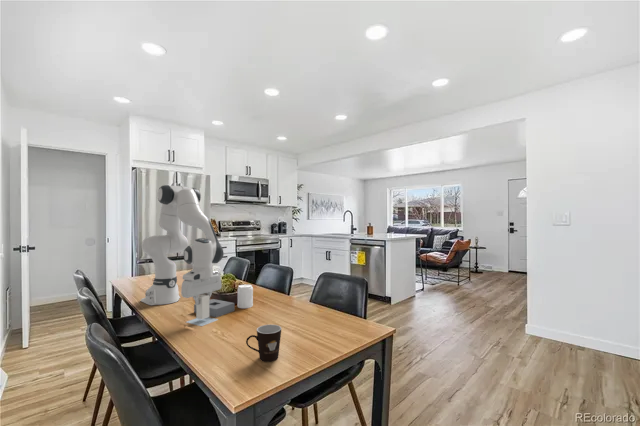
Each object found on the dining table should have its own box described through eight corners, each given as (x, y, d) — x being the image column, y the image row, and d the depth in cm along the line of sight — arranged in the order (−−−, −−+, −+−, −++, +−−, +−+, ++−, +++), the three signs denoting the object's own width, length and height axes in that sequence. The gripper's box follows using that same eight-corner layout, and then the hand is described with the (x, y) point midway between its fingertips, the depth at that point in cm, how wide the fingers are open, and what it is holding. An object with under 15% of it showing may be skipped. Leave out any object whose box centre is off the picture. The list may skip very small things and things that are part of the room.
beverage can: (254, 305, 166) (254, 284, 167) (249, 310, 158) (250, 287, 159) (240, 305, 167) (240, 284, 167) (235, 309, 159) (235, 287, 159)
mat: (185, 324, 137) (185, 322, 137) (203, 317, 146) (203, 315, 146) (201, 328, 132) (201, 326, 132) (219, 321, 141) (219, 319, 141)
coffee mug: (282, 351, 109) (282, 324, 109) (280, 363, 100) (280, 333, 100) (250, 352, 108) (250, 324, 109) (245, 363, 100) (245, 333, 100)
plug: (196, 318, 138) (196, 296, 139) (203, 315, 142) (203, 294, 142) (202, 319, 136) (202, 297, 137) (209, 316, 140) (209, 295, 140)
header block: (193, 314, 152) (194, 304, 152) (212, 308, 162) (212, 299, 162) (216, 319, 144) (216, 309, 144) (234, 312, 154) (234, 302, 154)
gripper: (215, 269, 150) (215, 297, 150) (179, 276, 132) (178, 307, 132) (224, 270, 147) (224, 298, 147) (188, 277, 129) (188, 309, 129)
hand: (202, 303), depth 139 cm, fingers closed on plug, 4 cm apart
